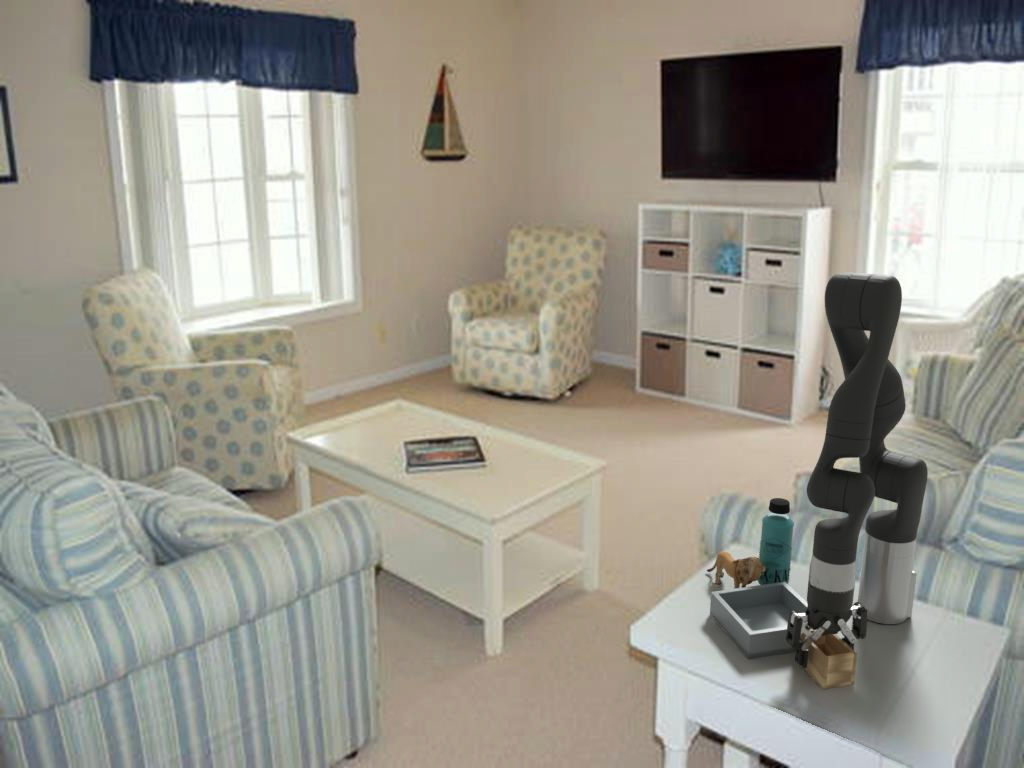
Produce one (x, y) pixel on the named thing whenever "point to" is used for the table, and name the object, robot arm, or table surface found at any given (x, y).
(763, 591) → the grey square tray
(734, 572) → the lion figurine
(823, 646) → the small oak crate
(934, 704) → the table surface
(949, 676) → the table surface
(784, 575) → the beverage bottle
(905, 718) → the table surface
